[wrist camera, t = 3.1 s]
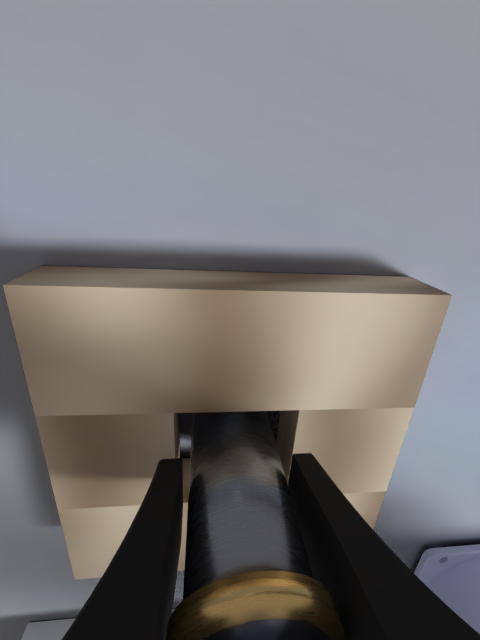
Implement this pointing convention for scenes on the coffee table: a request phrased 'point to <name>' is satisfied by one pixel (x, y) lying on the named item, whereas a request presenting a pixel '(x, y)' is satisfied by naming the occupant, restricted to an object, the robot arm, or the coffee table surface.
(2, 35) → the coffee table surface
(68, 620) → the dock
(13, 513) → the coffee table surface
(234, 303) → the pin mount
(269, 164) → the coffee table surface
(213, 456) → the lock pin
